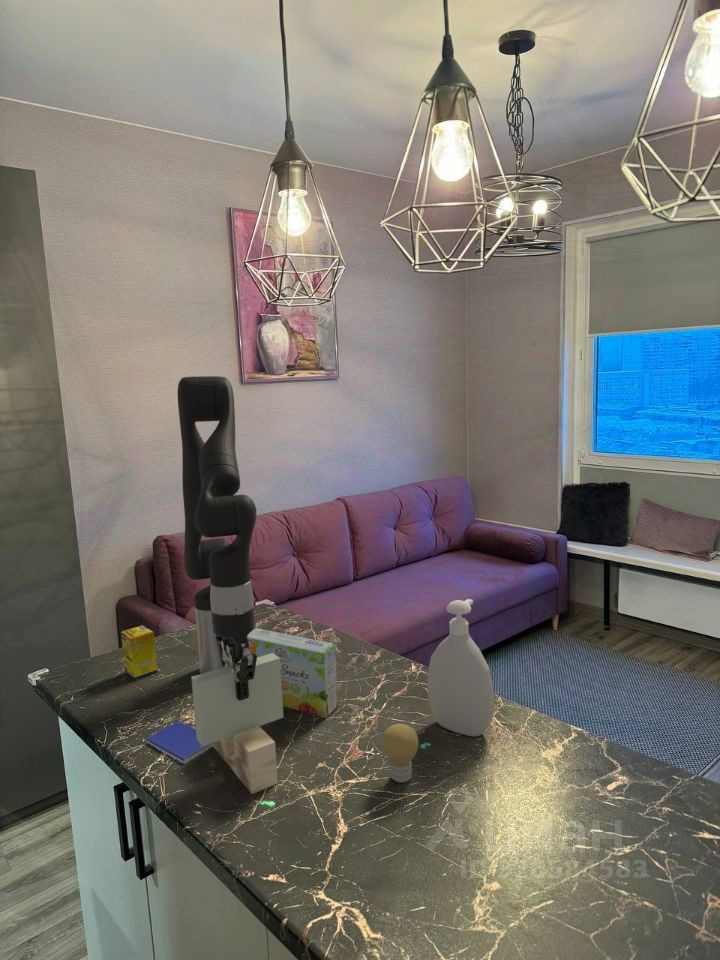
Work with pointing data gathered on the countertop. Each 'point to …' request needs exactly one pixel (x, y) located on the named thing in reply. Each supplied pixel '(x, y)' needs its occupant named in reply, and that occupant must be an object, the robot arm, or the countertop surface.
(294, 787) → the countertop surface
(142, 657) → the supplement box
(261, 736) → the slotted block
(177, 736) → the hard drive
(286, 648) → the snack box
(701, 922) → the countertop surface
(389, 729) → the light bulb
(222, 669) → the sage plate
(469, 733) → the soap bottle
